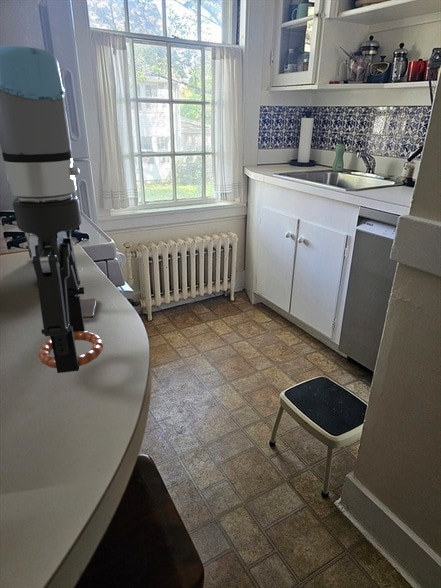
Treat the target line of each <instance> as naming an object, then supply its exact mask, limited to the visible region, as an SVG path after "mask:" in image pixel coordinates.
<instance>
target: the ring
mask: <svg viewBox="0 0 441 588" xmlns="http://www.w3.org/2000/svg"><path fill="white" fill-rule="evenodd" d="M73 334H74V340H75V341H85V342H88V343H90V344H92V347H91V348H90V350H88V351H87V352H85V353H83V354H81V355H77V358H78V364H79V367H82V366H85V365H87V364H89V363H91V362H93V361H94V360H96V359H97V358H98V357H99V356H100V354H101V353H102V352H103V350H104V349H103V348H104V341H103V340H102V338H101V337H100V336H99V335H98V334H96V333H93V332H91V331H86V330H85V331H74V332H73ZM51 351H53V348H52V343H51V338H49V339H47V340H46V341H45V342H44V343H42V345H41V346H40V349H39V350H38V358H39V360H40V362H41V363H42V365H45V366H46V367H48V368H51V369H57V368H56V363H55V358H54V356H52V355H51Z"/></svg>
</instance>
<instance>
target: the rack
mask: <svg viewBox="0 0 441 588" xmlns="http://www.w3.org/2000/svg"><path fill="white" fill-rule="evenodd" d="M76 296H79V295H76ZM80 301H81V307H82V314H83V319H93V318H94V316H95V313H96V309H97V303H98V302H97V301H98V300H97V298H87V299H80Z"/></svg>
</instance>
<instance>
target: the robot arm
mask: <svg viewBox="0 0 441 588" xmlns="http://www.w3.org/2000/svg"><path fill="white" fill-rule="evenodd" d="M60 70H61V69H60V65H59V61H58V58H57V56H55V54H53V52H51V51H49V50H47V49H43V48H38V47H30V46H20V45H0V150H1V155H2V161H3V166H4V170H5V175H6V179H7V184H8V190H9V194H10V195H11V196H13V197H15V198H14V199H13V202H12V207H13V212H14V217H15V220H16V225H17V229H18V230H19V231H21V232H23V233H24V234H25V233H32V234H35V235H36V236H37V237H38V245H35V255H36V256H33V260H32V261H31V262H32V264H33V265H32V266H33V268H34V274H35V277H37V278H36V284H37V290H38V297H39V304H40V312H41V319H42V327H43V329H40V330H41V331H40V332H41V334H42V335H44V337H49V339H51V343H52V348H53V349H52V352H53V357H54V358H55V363H56V368H55V369H56V372H57V374H62V373H69V372H70V373H71V372H78V371H80V366H79V364H78V358H77V356H78V353H77V352H78V351H77V347H76V340H74V334H73V332H74V331H85V332H86V328H85V321H84V318H83V314H82V307H81V301H80V300H81V295H85V287H84V286H83V287H80V285H81V280H80V275H79V270H78V266H77V261H76V256H75V251H74V246H73V240H72V231H73V230H75V229H78V227H80V226H81V224H82V213H81V208H80V207H81V205H80V200H79V197H77V196H76V194H75V192H76V191H77V181H76V177H75V176H79V175H80V173H81V171H80V169H79V167H78V166H73V164H74V160H73V153H72V152H73V151H72V144H71V136H70V135H71V134H70V127H69V121H68V120H69V117H68V112H67V110H68V109H67V103H66V90H65V87H64V86H63V81H62V76H61V71H60ZM76 295H78V296H76Z"/></svg>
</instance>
